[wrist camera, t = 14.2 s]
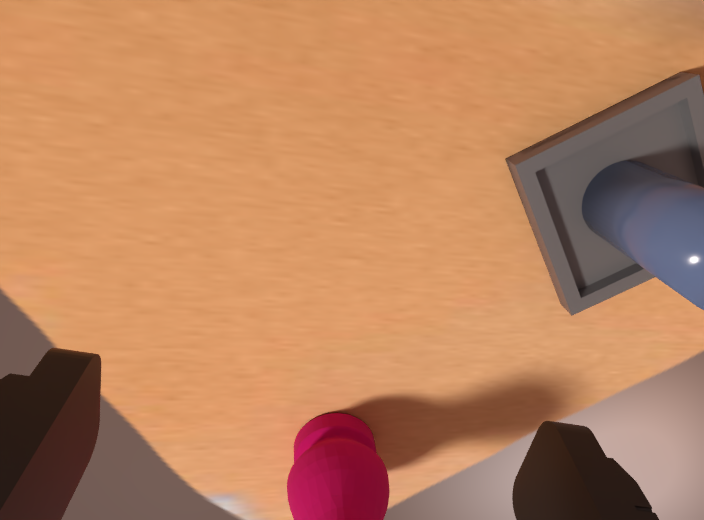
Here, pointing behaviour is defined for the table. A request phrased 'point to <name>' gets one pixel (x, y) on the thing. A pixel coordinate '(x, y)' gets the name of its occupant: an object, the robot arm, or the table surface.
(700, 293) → the blue-grey cylinder
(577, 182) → the tray
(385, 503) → the pepper mill
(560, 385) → the table surface
